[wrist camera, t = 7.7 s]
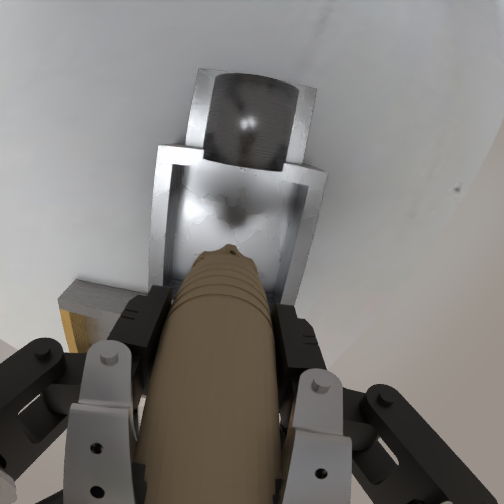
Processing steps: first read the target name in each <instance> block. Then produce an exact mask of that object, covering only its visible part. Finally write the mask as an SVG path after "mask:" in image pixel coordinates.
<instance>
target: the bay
mask: <svg viewBox="0 0 504 504" xmlns="http://www.w3.org/2000/svg"><path fill="white" fill-rule="evenodd" d="M137 295H143V296H147V294H144V293H139V292H134V291H129V290H123V289H118V288H113V287H109V286H104V285H99V284H94V283H90V282H85V281H81V280H75V281H74V282H73V283H72V284H71V285H70V286H69V287H68V288H67V289H66V290H65V291H64V292H63V294H62V295H61V296H60V297H59V298H58V304H59V309H60V314H61V318H62V323H63V327H64V332H65V336H66V340H67V344H68V347H69V351H70V353H87V352H88V350H89V348H90V347H91V346H92V345H93V344H95V343H97V342H100V341H103V340H106V339H107V338H108V336H109V334H110V332H111V331H112V329H113V327H114V325H115V324H116V322H117V320H118V318H119V317H120V315H121V313H122V312H123V310H124V308H125V307H126V305H127V303H128V302H129V300H131V299H132V298H134V297H135V296H137ZM141 397H143V398H146V396H145V395H142V396H141Z"/></svg>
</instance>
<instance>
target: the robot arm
mask: <svg viewBox="0 0 504 504" xmlns="http://www.w3.org/2000/svg"><path fill="white" fill-rule="evenodd" d="M171 305H172V288H171V287H165V286H160V285H152V287H151V289H150V291H149V293H148V294H147V296H143V295H137V296H135V297H134V298H132V299H131V300H129V302H128V303H127V305H126V307H125V308H124V310H123V312H122V313H121V315H120V317H119V318H118V320H117V322H116V324H115V325H114V327H113V329H112V331H111V332H110V334H109V336H108V338H107V339H106V340H103V341H100V342H97V343H95V344H93V345H92V346H91V347H90V348H89V350H88V352H87V353H64V352H63V348H62V346H61V344H60V343H59V342H58V341H56V340H54V339H51V338H38V339H35V340H33V341H31V342H30V343H28V344H27V345H26V346H24V347H23V348H21V349H20V350H19V351H17V352H16V353H14V354H13V355H12V356H10V357H9V358H7V359H6V360H5V361H3V362H2V363H1V364H0V504H11V503H14V502H15V501H16V500H17V494H16V486H15V481H16V479H18V478H19V477H20V475H21V474H22V473H23V472H24V471H25V470H26V469H27V468H28V467H29V466H30V465H31V464H32V463H33V462H34V461H35V460H36V459H37V458H38V457H39V456H40V455H41V454H42V453H43V452H44V451H45V450H46V449H47V448H48V447H49V446H50V445H51V444H52V443H53V442H54V441H55V440H56V439H57V438H58V437H59V436H60V435H61V434H62V433H63V432H64V431H65V429H66V428H67V436H66V446H65V459H64V481H63V490H61V491H59V492H57V493H55V494H53V495H52V496H49V497H47V498H46V499H44V500H42V501H40V502H38V503H35V504H144V502H145V497H146V492H147V482H146V481H144V476H145V467H146V465H144V464H140V463H136V462H134V459H135V457H136V446H137V440H138V435H139V430H140V423H139V407H138V405H139V402H140V399H141V396H142V395H145V396H147V391H148V387H149V382H150V378H151V373H152V369H153V365H154V360H155V356H156V352H157V348H158V344H159V340H160V336H161V332H162V328H163V326H164V323H165V320H166V318H167V316H168V313H169V310H170V308H171ZM271 319H272V325H273V332H274V339H275V352H276V370H277V389H278V409H279V413H280V416H281V421H280V423H279V428H280V445H281V463H280V469H281V471H282V479H275V494H273V496H272V498H273V504H350V498H351V497H350V496H351V475H352V474H353V475H354V477H355V478H356V479H357V481H358V482H359V484H360V485H361V486H362V488H363V489H364V491H365V492H366V493H367V494H368V496H369V497H370V499H371V500H372V502H373V503H374V504H498V503H497V501H496V499H495V498H494V497H493V495H492V494H491V493H490V492H489V491H488V490H487V489H486V488H485V486H484V485H483V484H482V483H481V482H480V481H479V480H478V478H477V477H476V476H475V475H474V474H473V473H472V472H471V471H470V470H469V468H468V467H467V466H466V465H465V464H464V463H463V462H462V461H461V460H460V458H459V457H457V455H456V454H455V453H454V452H453V451H452V450H451V449H450V447H449V446H448V445H447V444H446V443H445V442H444V441H443V440H442V439H441V438H440V436H439V435H438V434H437V433H436V432H435V431H434V430H433V429H432V428H431V427H430V425H429V424H427V422H426V421H425V420H424V419H423V418H422V417H421V416H420V415H419V414H418V412H417V411H416V410H415V409H414V408H413V407H412V406H411V405H410V404H409V403H408V402H407V401H406V400H405V398H404V397H403V396H402V395H401V394H400V393H399V392H398V391H397V390H396V389H394V388H392V387H391V386H388V385H384V384H376V385H373V386H371V387H370V388H369V389H368V390H367V392H366V393H362V392H358V391H354V390H349V389H346V388H344V387H342V383H341V381H340V380H339V378H338V377H337V376H336V375H334V374H333V373H331V372H329V371H327V369H326V366H325V363H324V360H323V357H322V354H321V351H320V348H319V346H318V342H317V339H316V338H315V337H316V336H315V333H314V330H313V327H312V326H311V325H310V324H309V323H308V322H307V321H306V320H305V319H300V318H297V315H296V311H295V308H294V306H293V305H287V304H279V303H274V305H273V308H272V312H271ZM39 394H40V396H39V397H38V398H37V399H36V400H35V401H33V402H32V403H31V404H30V405H29V406H28V407H27V408H26V409H24V410H23V411H22V412H21V413H20V414H19V415H18V413H19V412H20V410H21V409H23V408H24V407H25V406H26V405H27V404H28V403H29V402H31V401H32V400H33V399H34V398H35V397H36V396H37V395H39ZM380 437H381V438H382V440H383V441H384V442H385V443H386V445H387V446H388V447H389V448H390V450H391V451H392V452H393V453H394V455H396V457H397V459H398V461H399V466H398V465H397V464H396V463H395V462H394V460H393V459H392V458H391V457H390V455H389V454H388V453H387V452H386V450H385V449H384V448H383V447H382V445H381V444H380V443H379V442H378V439H379V438H380Z"/></svg>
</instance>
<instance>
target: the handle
mask: <svg viewBox="0 0 504 504" xmlns="http://www.w3.org/2000/svg"><path fill="white" fill-rule="evenodd" d="M258 274H259V273H258V270H257V267H256V265H255V263H254V261H253V259H252V258H248V257H245V256H244V255H242V254H241V253H240V252H239V251H238V249H237V247H236V246H235V245H232V244H226V245H225V246H224V247H222V248H221V249H218V250H215V251H209V252H208V251H203V252H202V253H201V254H200V255H199V256H198V257H197V258H196V260H195V261H194V263H193V265H192V269H191V271H190V272H189V273H188V275H187V276H186V278H185V279H184V281H183V283H182V285H181V286H180V288H179V290H178V293H177V294H176V296H175V299H174V301H173V303H172V305H171V308H170V310H169V313H168V316H167V318H166V320H165V323H164V326H163V328H162V332H161V336H160V340H159V344H158V348H157V352H156V356H155V360H154V365H153V369H152V373H151V378H150V382H149V387H148V391H147V396H146V401H145V406H144V410H143V416H142V420H141V425H140V430H139V435H138V440H137V446H136V457H135V459H134V462H136V463H140V464H144V465H146V467H145V476H144V481H146V482H147V492H146V497H145V502H144V504H273V498H272V496H273V494H275V479H282V471H281V469H280V463H281V445H280V428H279V409H278V389H277V370H276V352H275V339H274V332H273V325H272V319H271V313H270V308H269V305H268V302H267V298H266V295H265V291H264V289H263V286H262V283H261V281H260V279H259V277H258Z"/></svg>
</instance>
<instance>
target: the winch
mask: <svg viewBox="0 0 504 504" xmlns="http://www.w3.org/2000/svg"><path fill="white" fill-rule="evenodd" d="M316 91H317V89H315V88H311V87H307V86H303V85H299V84H295V83H290V82H286V81H281V80H277V79H273V78H269V77H264V76H259V75H252V74H242V73H235V72H227V71H219V70H209V69H199V70H198V75H197V79H196V84H195V89H194V95H193V100H192V105H191V111H190V117H189V122H188V128H187V135H186V141H185V145H183V144H165V145H158V153H157V161H156V169H155V178H154V189H153V200H152V212H151V228H150V247H149V291H150V289H151V287H152V285H160V286H165V287H171V288H172V303H173V301H174V299H175V296H176V294H177V293H178V290H179V288H180V286H181V285H182V283H183V281H184V279H185V278H186V276H187V275H188V273H189V272H190V271H191V269H192V265H193V263H194V261H195V260H196V258H197V257H198V256H199V255H200V254H201V253H202V252H203V251H208V252H209V251H215V250H218V249H221V248H222V247H224V246H225V245H226V244H232V245H235V246H236V247H237V249H238V251H239V252H240V253H241V254H242V255H244V256H245V257H248V258H252V259H253V261H254V263H255V265H256V267H257V270H258V273H259V274H258V277H259V279H260V281H261V283H262V286H263V289H264V291H265V295H266V298H267V302H268V305H269V308H270V313H271V312H272V308H273V305H274V303H279V304H287V305H293V306H294V305H295V301H296V298H297V294H298V291H299V287H300V284H301V280H302V277H303V273H304V269H305V266H306V262H307V258H308V255H309V251H310V247H311V243H312V239H313V235H314V231H315V227H316V223H317V219H318V215H319V211H320V207H321V203H322V199H323V194H324V190H325V186H326V181H327V177H328V173H327V172H325V171H323V170H321V169H318V168H316V167H314V166H310V165H305V164H302V162H303V158H304V153H305V148H306V143H307V138H308V133H309V128H310V122H311V117H312V112H313V107H314V101H315V96H316Z"/></svg>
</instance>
